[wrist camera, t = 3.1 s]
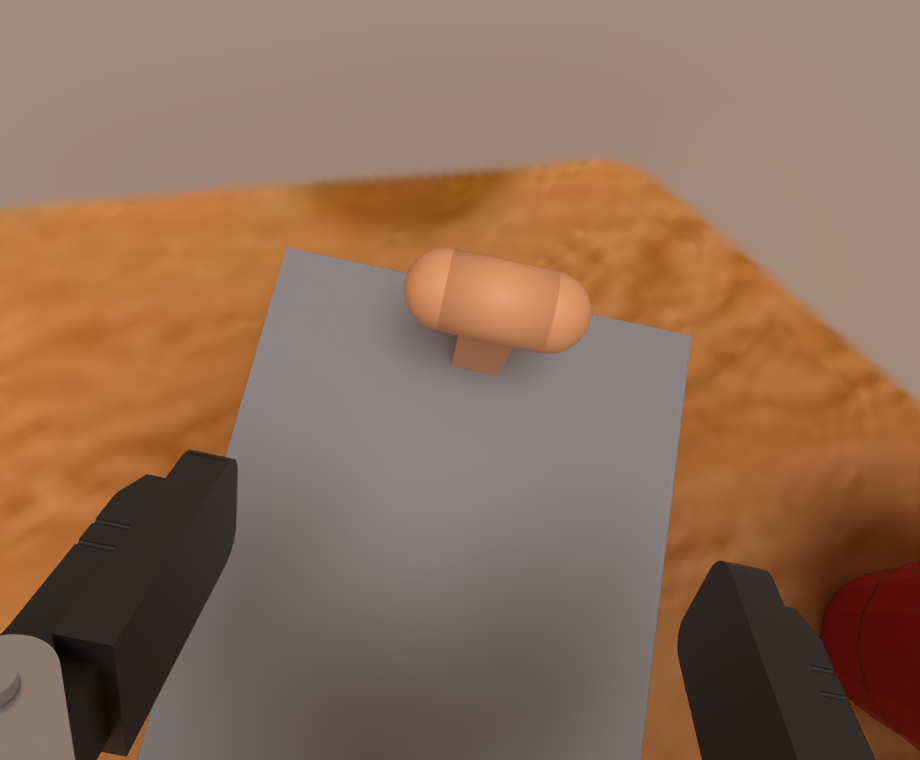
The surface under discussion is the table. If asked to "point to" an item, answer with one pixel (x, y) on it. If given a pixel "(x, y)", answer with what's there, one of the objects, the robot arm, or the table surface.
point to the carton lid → (436, 524)
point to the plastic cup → (879, 646)
